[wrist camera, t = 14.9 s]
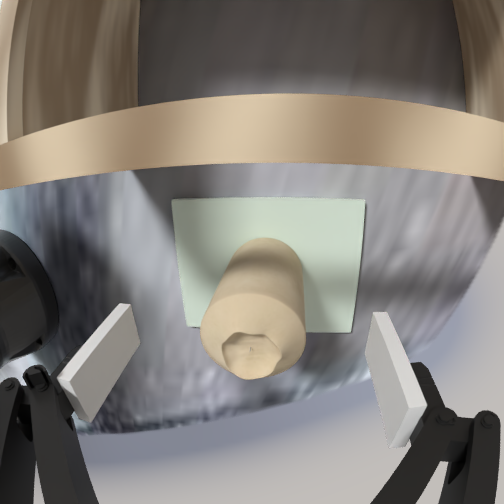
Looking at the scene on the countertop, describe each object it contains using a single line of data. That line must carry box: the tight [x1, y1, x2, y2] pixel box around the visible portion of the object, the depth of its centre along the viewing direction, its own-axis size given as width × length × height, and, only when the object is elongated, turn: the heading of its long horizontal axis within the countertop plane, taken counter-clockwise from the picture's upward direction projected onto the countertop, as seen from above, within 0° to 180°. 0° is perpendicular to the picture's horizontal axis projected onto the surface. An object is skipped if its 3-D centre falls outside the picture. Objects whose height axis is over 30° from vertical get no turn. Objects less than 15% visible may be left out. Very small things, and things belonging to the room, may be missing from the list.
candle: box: [200, 238, 306, 380], centre depth 19 cm, size 6×6×10 cm
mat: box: [171, 197, 365, 333], centre depth 24 cm, size 14×11×1 cm
